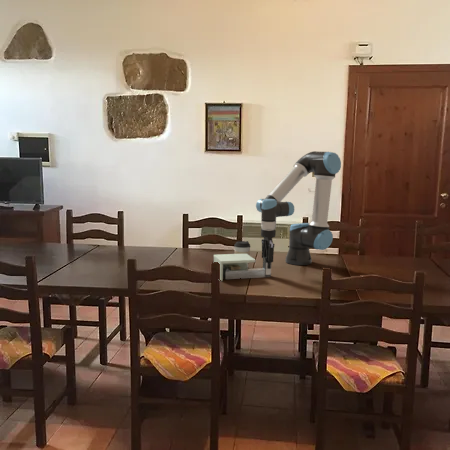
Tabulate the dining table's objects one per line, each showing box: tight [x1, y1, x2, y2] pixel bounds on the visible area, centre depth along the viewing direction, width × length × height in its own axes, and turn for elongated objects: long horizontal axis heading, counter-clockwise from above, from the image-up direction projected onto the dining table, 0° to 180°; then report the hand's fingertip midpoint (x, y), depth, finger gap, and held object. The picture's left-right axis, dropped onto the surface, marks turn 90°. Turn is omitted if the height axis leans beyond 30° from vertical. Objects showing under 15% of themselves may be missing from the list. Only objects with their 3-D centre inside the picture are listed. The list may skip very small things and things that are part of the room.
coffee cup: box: [233, 240, 251, 269], centre depth 283 cm, size 9×9×15 cm
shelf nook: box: [213, 253, 256, 282], centre depth 265 cm, size 18×15×10 cm
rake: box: [223, 257, 273, 280], centre depth 267 cm, size 24×9×10 cm, turn 105°
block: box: [229, 265, 240, 270], centre depth 269 cm, size 5×5×5 cm
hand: (266, 273), depth 268 cm, fingers closed on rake, 3 cm apart
